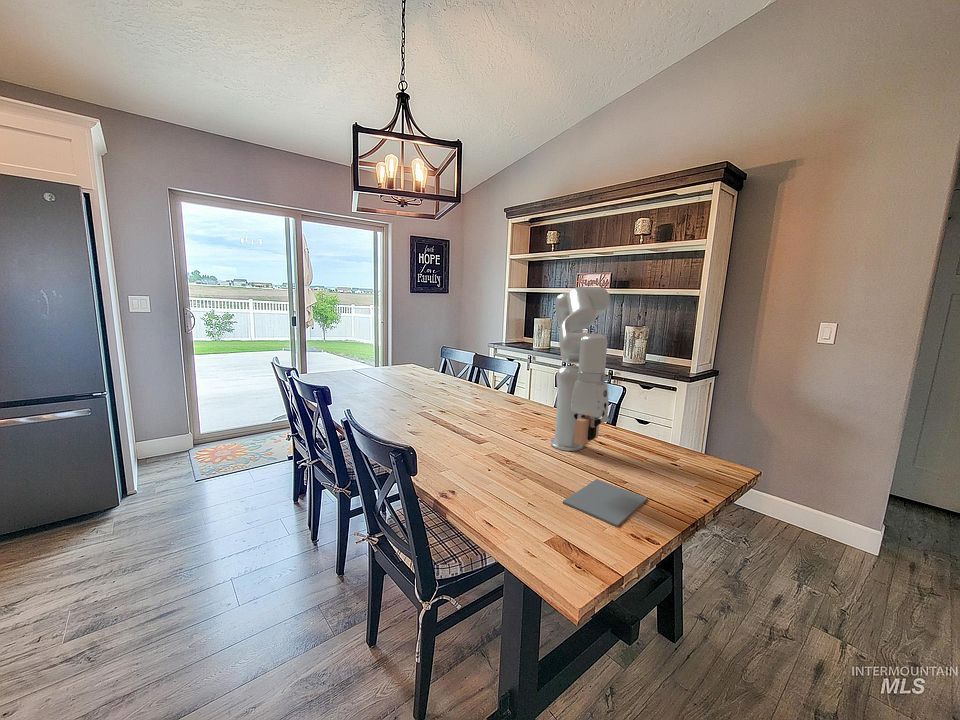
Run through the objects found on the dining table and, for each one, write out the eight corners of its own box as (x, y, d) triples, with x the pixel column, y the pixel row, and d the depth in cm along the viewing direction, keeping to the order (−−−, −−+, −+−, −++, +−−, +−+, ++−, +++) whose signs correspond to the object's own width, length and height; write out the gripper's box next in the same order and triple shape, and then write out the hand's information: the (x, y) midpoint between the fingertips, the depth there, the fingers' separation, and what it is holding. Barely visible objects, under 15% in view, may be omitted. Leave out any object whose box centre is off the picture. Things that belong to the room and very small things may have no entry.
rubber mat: (596, 480, 124) (596, 478, 124) (647, 499, 113) (647, 497, 113) (562, 503, 110) (562, 501, 110) (617, 527, 99) (617, 524, 99)
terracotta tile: (590, 435, 122) (592, 413, 121) (598, 437, 120) (599, 415, 119) (574, 442, 115) (575, 419, 114) (581, 445, 113) (583, 421, 112)
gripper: (623, 380, 112) (617, 442, 115) (573, 372, 123) (569, 429, 126) (611, 383, 107) (605, 448, 109) (560, 374, 118) (556, 433, 120)
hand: (586, 437), depth 117 cm, fingers closed on terracotta tile, 2 cm apart
